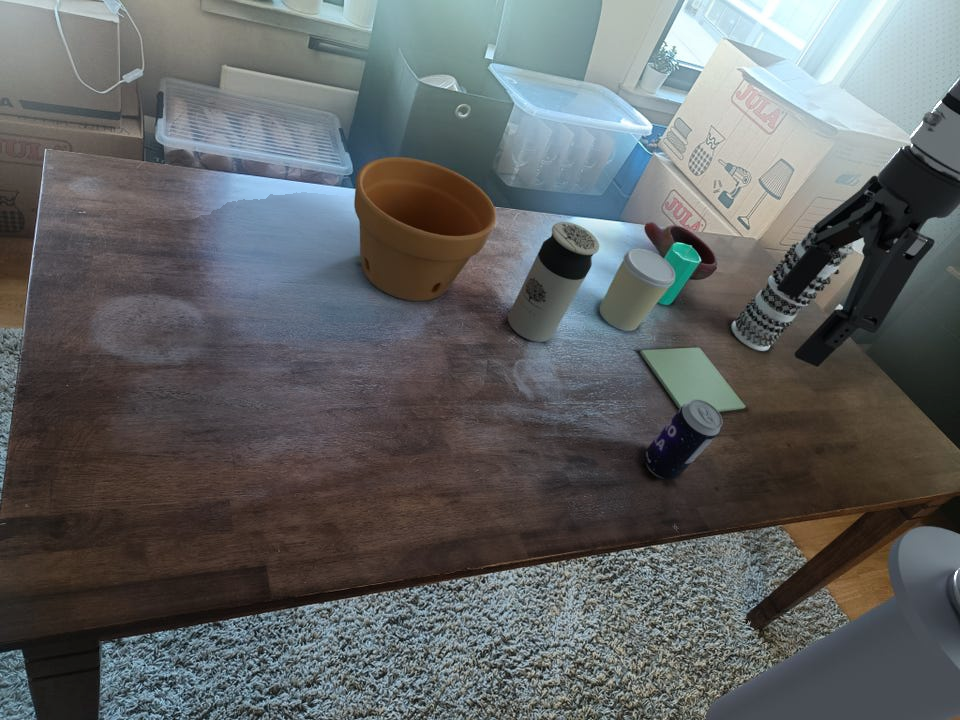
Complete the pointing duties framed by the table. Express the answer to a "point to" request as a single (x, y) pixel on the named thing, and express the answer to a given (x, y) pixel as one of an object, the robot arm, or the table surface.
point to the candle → (680, 269)
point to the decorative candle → (782, 298)
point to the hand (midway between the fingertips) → (795, 324)
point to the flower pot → (418, 225)
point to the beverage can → (683, 439)
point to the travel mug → (553, 281)
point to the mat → (691, 378)
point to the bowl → (681, 235)
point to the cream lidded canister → (636, 288)
